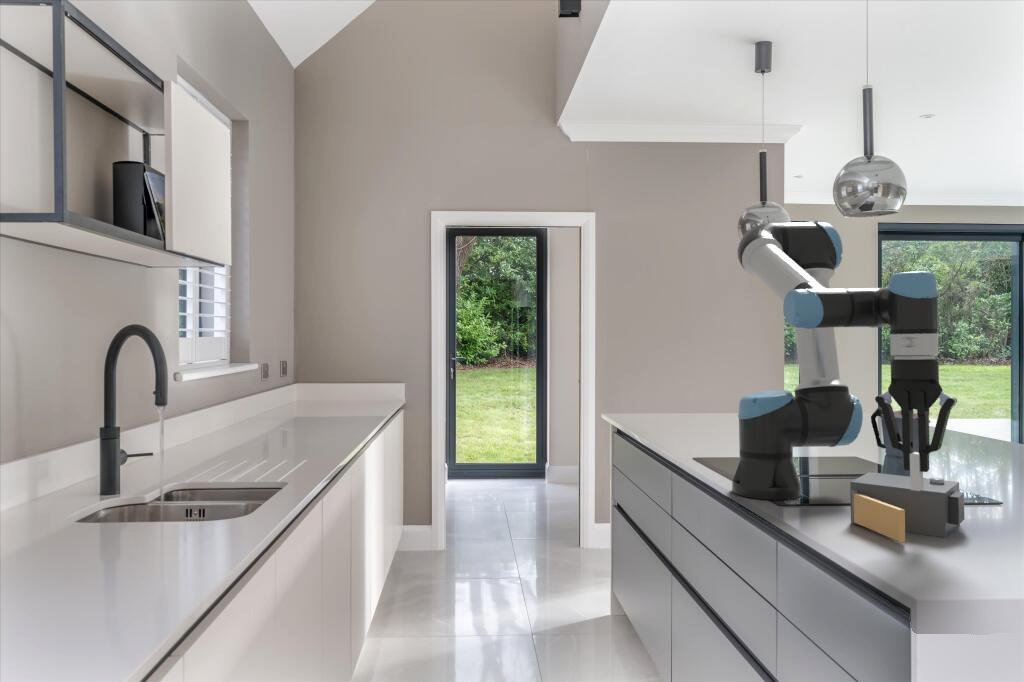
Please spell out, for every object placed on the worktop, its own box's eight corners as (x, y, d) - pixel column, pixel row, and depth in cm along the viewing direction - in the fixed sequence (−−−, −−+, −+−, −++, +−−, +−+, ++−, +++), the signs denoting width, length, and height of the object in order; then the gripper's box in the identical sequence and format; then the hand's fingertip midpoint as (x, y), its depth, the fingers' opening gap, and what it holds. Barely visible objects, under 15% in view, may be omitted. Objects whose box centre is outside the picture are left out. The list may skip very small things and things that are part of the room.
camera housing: (850, 522, 138) (850, 477, 138) (869, 510, 147) (869, 468, 147) (955, 539, 127) (955, 489, 127) (969, 525, 136) (968, 478, 135)
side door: (851, 523, 138) (850, 489, 138) (855, 522, 138) (855, 489, 138) (899, 544, 124) (899, 507, 124) (905, 543, 124) (904, 507, 124)
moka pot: (918, 496, 159) (917, 407, 159) (856, 484, 173) (855, 401, 172) (944, 491, 163) (943, 404, 163) (882, 479, 177) (881, 399, 177)
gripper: (868, 358, 130) (871, 488, 130) (951, 358, 121) (954, 497, 121) (880, 357, 135) (883, 482, 135) (960, 357, 127) (963, 490, 127)
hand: (916, 489), depth 128 cm, fingers closed
